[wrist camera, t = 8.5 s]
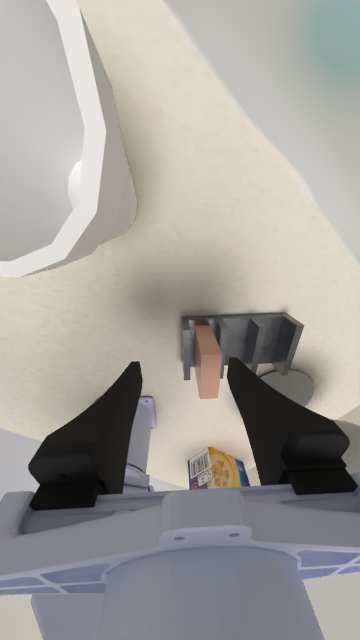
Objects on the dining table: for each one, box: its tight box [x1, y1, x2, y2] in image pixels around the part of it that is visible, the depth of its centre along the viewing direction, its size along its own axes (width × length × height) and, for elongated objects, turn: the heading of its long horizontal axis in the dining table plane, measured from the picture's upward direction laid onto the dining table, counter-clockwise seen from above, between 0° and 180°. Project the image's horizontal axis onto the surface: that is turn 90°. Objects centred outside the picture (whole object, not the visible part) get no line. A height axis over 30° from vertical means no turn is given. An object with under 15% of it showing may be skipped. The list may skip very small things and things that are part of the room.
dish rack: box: [182, 313, 304, 380], centre depth 22 cm, size 14×8×4 cm, turn 92°
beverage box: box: [188, 447, 250, 490], centre depth 28 cm, size 7×11×22 cm, turn 50°
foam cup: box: [0, 0, 138, 278], centre depth 10 cm, size 10×9×13 cm
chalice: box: [260, 370, 360, 475], centre depth 22 cm, size 14×14×15 cm
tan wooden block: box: [194, 325, 222, 399], centre depth 20 cm, size 2×6×6 cm, turn 1°
